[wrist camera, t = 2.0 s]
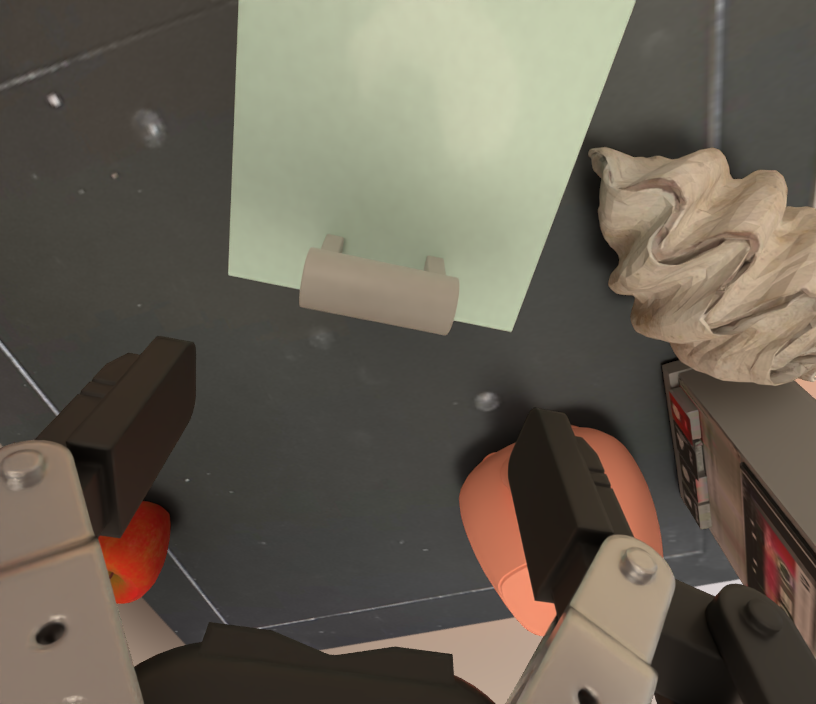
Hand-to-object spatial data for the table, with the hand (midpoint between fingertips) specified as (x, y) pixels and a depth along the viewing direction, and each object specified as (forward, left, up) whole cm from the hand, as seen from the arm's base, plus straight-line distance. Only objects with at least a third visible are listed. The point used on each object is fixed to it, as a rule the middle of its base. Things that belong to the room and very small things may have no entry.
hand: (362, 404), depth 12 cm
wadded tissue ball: (+17, +1, -20) cm, 27 cm away
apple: (-15, -31, -20) cm, 40 cm away
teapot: (+16, -19, -20) cm, 32 cm away
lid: (0, +4, -10) cm, 11 cm away
